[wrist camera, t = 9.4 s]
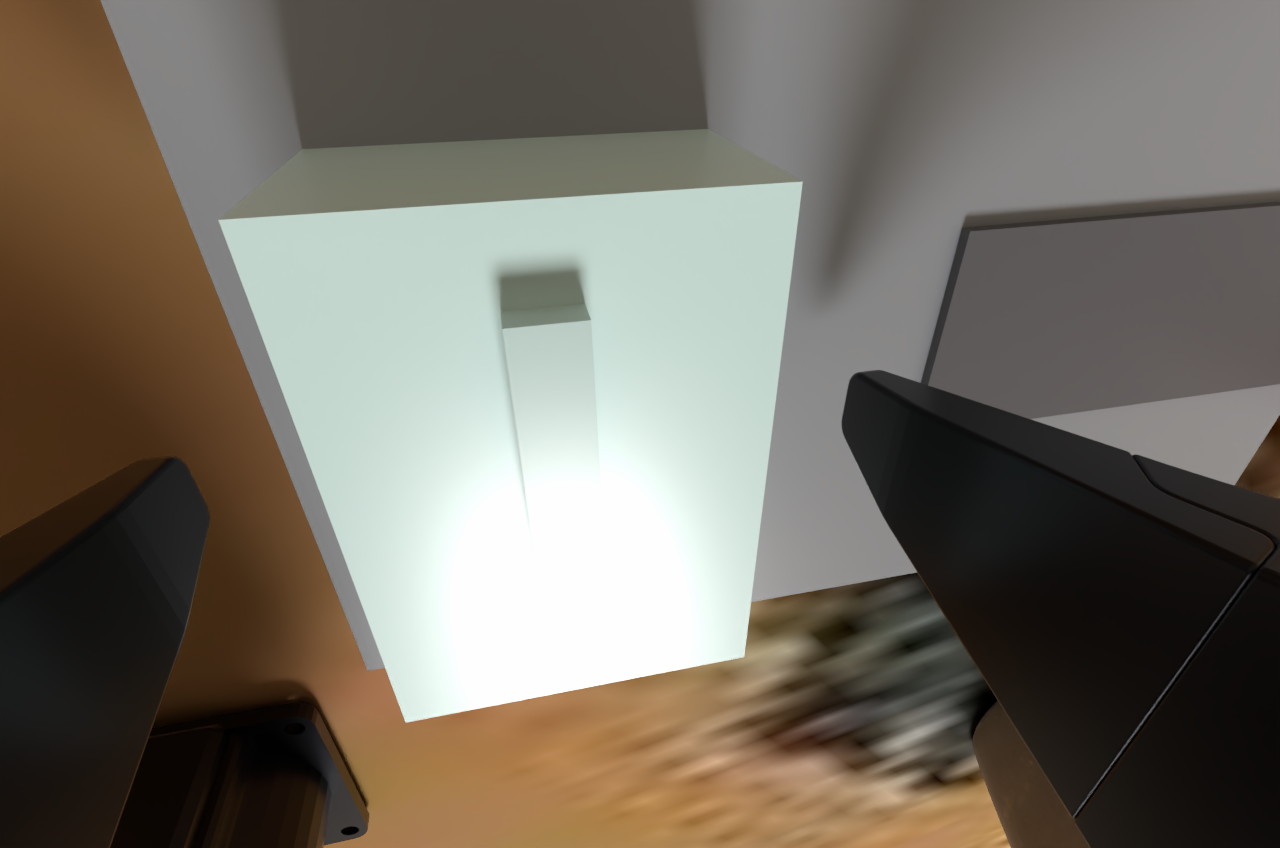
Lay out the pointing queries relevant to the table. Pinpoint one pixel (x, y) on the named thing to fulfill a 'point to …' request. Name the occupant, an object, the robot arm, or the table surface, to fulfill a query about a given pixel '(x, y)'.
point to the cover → (531, 394)
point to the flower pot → (1021, 787)
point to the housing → (827, 197)
